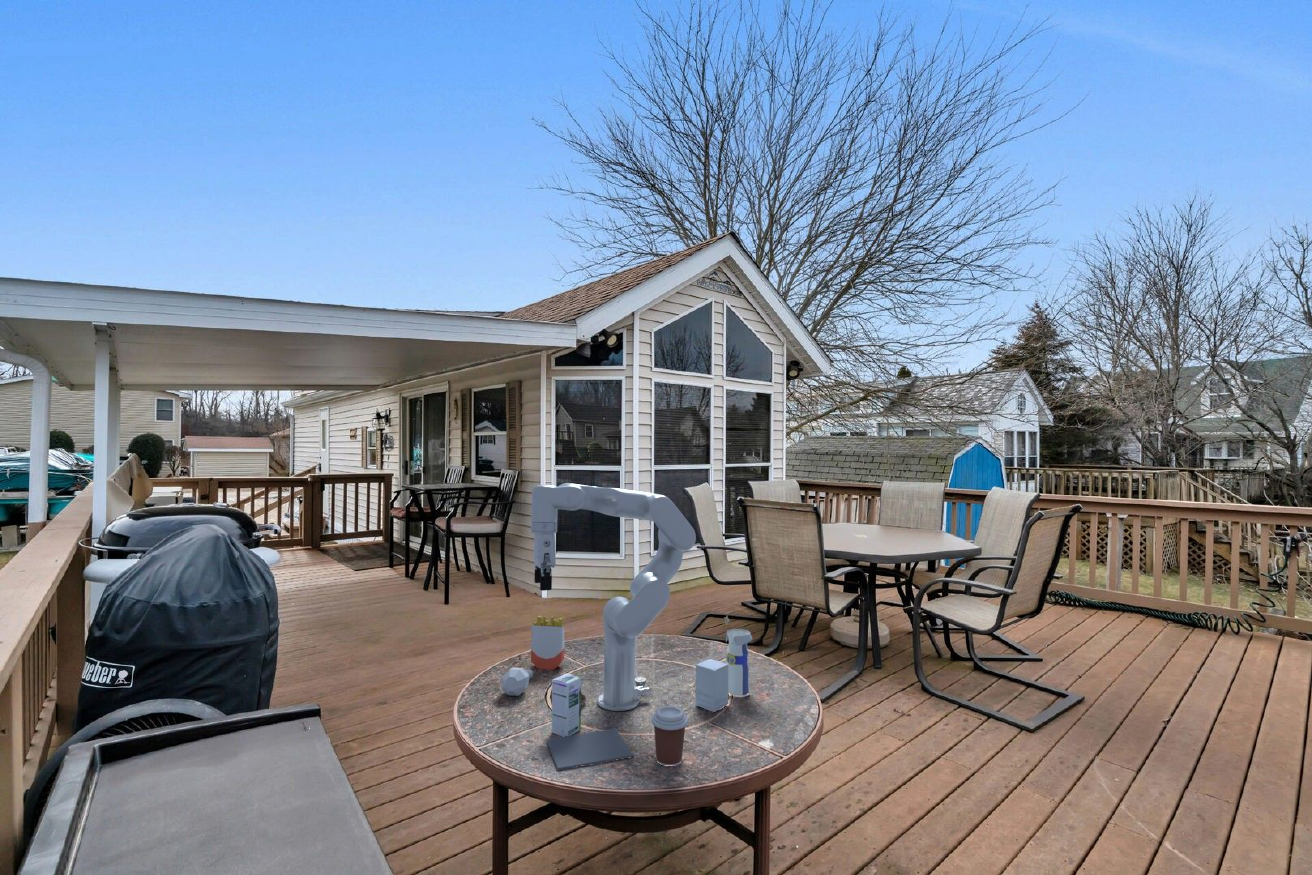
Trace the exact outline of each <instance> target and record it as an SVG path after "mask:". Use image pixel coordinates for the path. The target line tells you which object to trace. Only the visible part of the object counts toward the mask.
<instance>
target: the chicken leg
mask: <svg viewBox="0 0 1312 875" xmlns="http://www.w3.org/2000/svg"><path fill="white" fill-rule="evenodd" d="M533 676H534V671H533V670H532V669H528V668H527V669H525V670H524V668H523V667H513V666H512V667H511V668H509V670H507V672H505V673H504V675H503V676H502V678H501V689H502V690H503V691H504V692H505V693H506V695H508V696H512V697H513V696H517V697H519V696H521V695H522V694H523V692H525V691H526V690H527V688H528V687H529V684H530V683H529V681H530V680H531V679H532V678H533ZM521 693H522V694H521Z"/></svg>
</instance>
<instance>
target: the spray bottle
mask: <svg viewBox="0 0 1312 875" xmlns="http://www.w3.org/2000/svg"><path fill="white" fill-rule="evenodd" d="M725 616H726V617H723V619H724V625H727V627H728V626H729V622H730V619H729V617H728V615H725ZM727 641H728V646H727V649H726V652H727V655H726V664H728V693H730V694H732V695H745V694H747V693H749V694H750V668H749V666H750V665H749V663H748V660H749V659H748V657H749V656H748V655H749V653H750V651H749V648H748V643H749V642H752V641H753V636H752V634H751V632H750V631H749V630H746V629H744V628H743V629H742V628H733V629H732V628H731V629H728V630H727V631H726V638H725V643H727Z"/></svg>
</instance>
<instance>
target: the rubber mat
mask: <svg viewBox="0 0 1312 875" xmlns="http://www.w3.org/2000/svg"><path fill="white" fill-rule="evenodd" d="M546 744H547V747H548V748H549V751H550V754H551V757H552V759H553V761H555V762H554V764H555V766H557V767H556V769H557V771H558V770H559V771H563V770H570V769H573V768H572V767H576V766H581V765H587V766H591V765H590V764H593V765H598V764H597V763H599V764H602V763H601V762H605V763H607V762H606V761H611V762H614V761H613V760H616V759H622V758H628V757H633V758H634V754H633V753H632V752H633V751H631V749H630V747H629V746H628V745H627V743H626V741H625V740H624V738H623V737H622V736H621V734H620V732H619V730H618V729H617V728H609V729H605V730H603V729H602V730H597V731H589V732H585V733H578V734H572V735H570V736H564V737H563V736H558V737H552V738H546ZM628 759H629V758H628ZM622 760H623V759H622ZM616 761H617V760H616ZM569 768H570V769H569ZM576 768H577V767H576Z"/></svg>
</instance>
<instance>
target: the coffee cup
mask: <svg viewBox="0 0 1312 875" xmlns="http://www.w3.org/2000/svg"><path fill="white" fill-rule="evenodd" d="M651 723H652V725H653V727H654V728H653V729H654V743H655V745H654V746H655V760H657V761H658V762H659V763H661V764H662V765H677V764H679V763H680V762H681V761H682V762H683V751H684V750H683V749H684V740H685V732H686V727H687V725H688V723H689V718H688V717H687V715H685V711H684V710H683V709H682V708H680V707H678V706H673V705H666V706H665V705H664V706H661V707H659V708H657V709H656V711H655V713H654V714H653V715H652V717H651ZM657 761H656V762H657ZM682 762H681V763H682Z"/></svg>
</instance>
